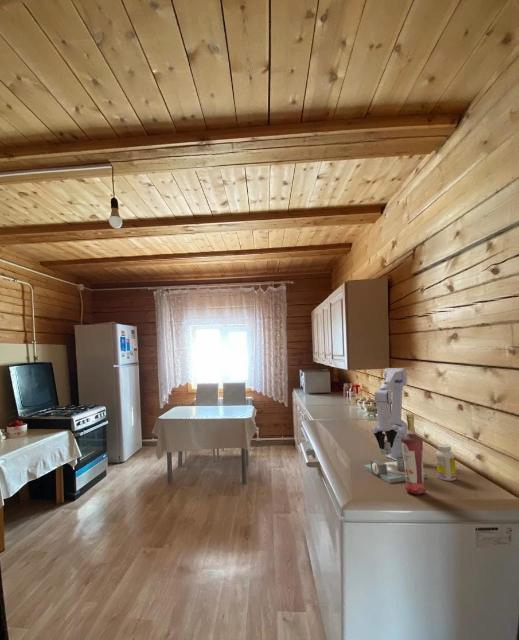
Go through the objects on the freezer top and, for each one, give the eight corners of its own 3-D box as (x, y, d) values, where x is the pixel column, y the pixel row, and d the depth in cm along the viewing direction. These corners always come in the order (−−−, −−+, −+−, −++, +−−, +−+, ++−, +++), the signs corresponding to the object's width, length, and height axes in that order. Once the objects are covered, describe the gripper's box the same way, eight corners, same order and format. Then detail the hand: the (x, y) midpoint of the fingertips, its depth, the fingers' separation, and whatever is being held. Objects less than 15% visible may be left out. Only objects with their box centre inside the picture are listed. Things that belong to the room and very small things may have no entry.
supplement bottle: (454, 476, 138) (451, 444, 140) (458, 482, 132) (455, 448, 133) (436, 474, 140) (434, 443, 142) (439, 480, 134) (436, 447, 136)
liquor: (431, 495, 120) (425, 415, 123) (413, 497, 119) (407, 417, 122) (417, 487, 127) (412, 412, 131) (400, 489, 126) (395, 413, 129)
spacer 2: (404, 468, 143) (403, 455, 144) (411, 471, 139) (410, 458, 139) (395, 469, 142) (394, 457, 142) (402, 472, 138) (401, 460, 138)
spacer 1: (385, 451, 153) (384, 439, 154) (393, 453, 149) (392, 441, 150) (378, 452, 151) (377, 440, 152) (386, 454, 147) (385, 443, 148)
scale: (398, 464, 155) (397, 452, 155) (427, 477, 137) (426, 464, 138) (363, 468, 150) (362, 456, 150) (388, 483, 132) (387, 469, 133)
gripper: (389, 414, 158) (391, 443, 157) (365, 417, 152) (367, 447, 151) (401, 416, 152) (403, 447, 150) (376, 419, 146) (378, 451, 144)
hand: (386, 448), depth 150 cm, fingers closed on spacer 1, 4 cm apart
